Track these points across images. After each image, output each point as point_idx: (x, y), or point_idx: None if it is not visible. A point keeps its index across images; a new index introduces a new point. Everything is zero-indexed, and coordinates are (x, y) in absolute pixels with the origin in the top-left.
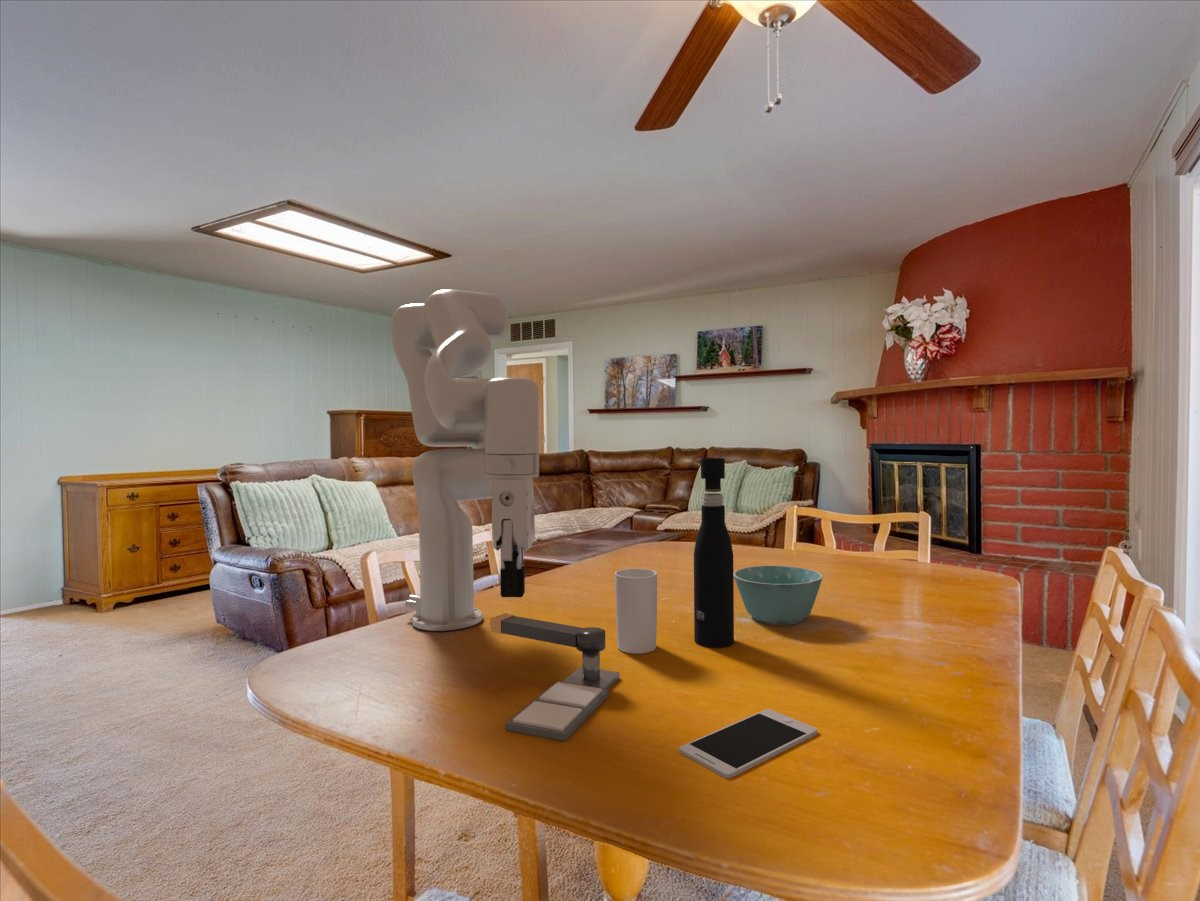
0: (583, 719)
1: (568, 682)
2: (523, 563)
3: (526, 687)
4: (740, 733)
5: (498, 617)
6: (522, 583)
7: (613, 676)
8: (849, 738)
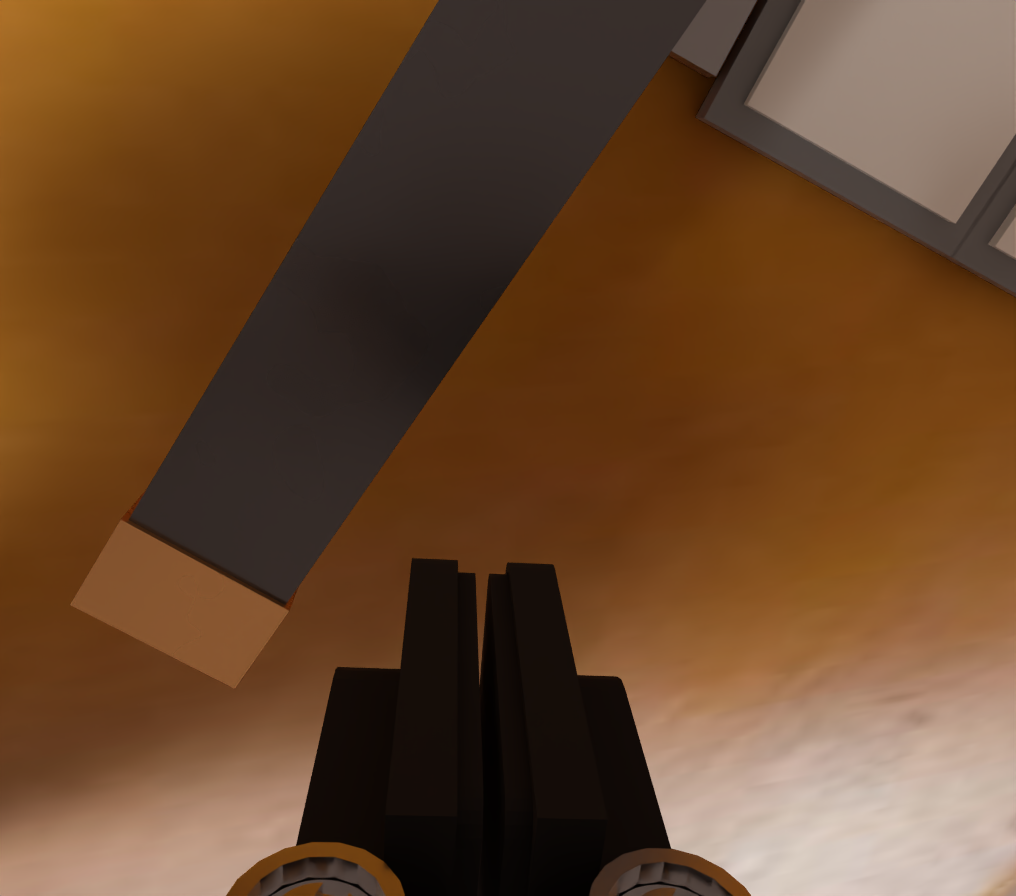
0: None
1: (731, 30)
2: (267, 872)
3: (656, 299)
4: None
5: (197, 635)
6: (571, 662)
7: None
8: None
